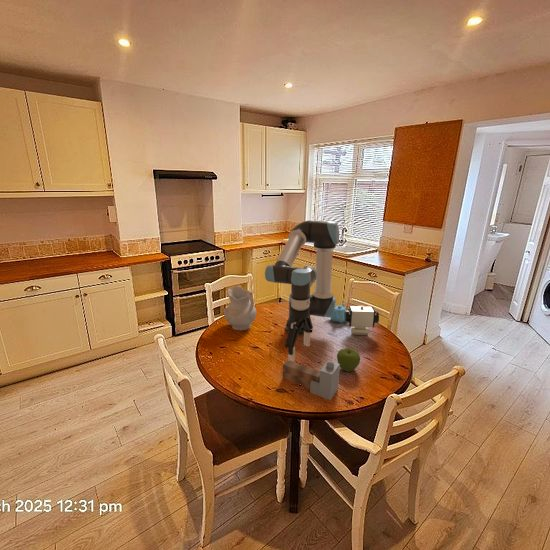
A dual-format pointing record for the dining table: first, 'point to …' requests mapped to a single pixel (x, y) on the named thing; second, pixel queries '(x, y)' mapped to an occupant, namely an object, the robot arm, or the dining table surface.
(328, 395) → the grey two-prong block
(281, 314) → the dining table surface
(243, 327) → the ceramic pitcher
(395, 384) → the dining table surface
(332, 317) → the teapot
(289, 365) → the rail
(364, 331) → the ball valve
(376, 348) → the dining table surface
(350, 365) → the apple
